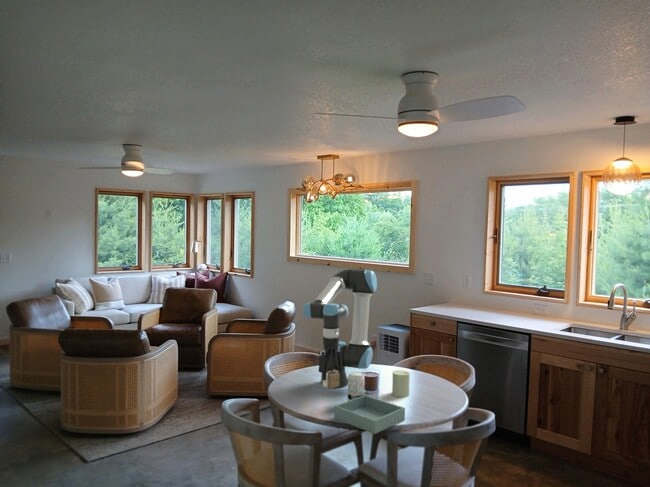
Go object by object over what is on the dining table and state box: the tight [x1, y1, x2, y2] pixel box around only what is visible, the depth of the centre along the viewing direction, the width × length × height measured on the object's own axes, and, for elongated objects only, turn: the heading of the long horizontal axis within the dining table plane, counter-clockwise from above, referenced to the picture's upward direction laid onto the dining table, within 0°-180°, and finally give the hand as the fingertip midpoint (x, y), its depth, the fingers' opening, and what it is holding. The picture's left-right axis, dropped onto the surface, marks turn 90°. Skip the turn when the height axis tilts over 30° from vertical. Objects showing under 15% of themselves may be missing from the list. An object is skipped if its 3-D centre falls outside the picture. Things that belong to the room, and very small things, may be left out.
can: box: [391, 369, 411, 398], centre depth 252 cm, size 9×9×12 cm
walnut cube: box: [320, 371, 339, 390], centre depth 226 cm, size 6×6×6 cm
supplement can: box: [347, 371, 365, 401], centre depth 237 cm, size 8×8×15 cm
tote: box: [334, 394, 406, 435], centre depth 219 cm, size 24×22×6 cm
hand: (330, 385), depth 227 cm, fingers closed on walnut cube, 6 cm apart
